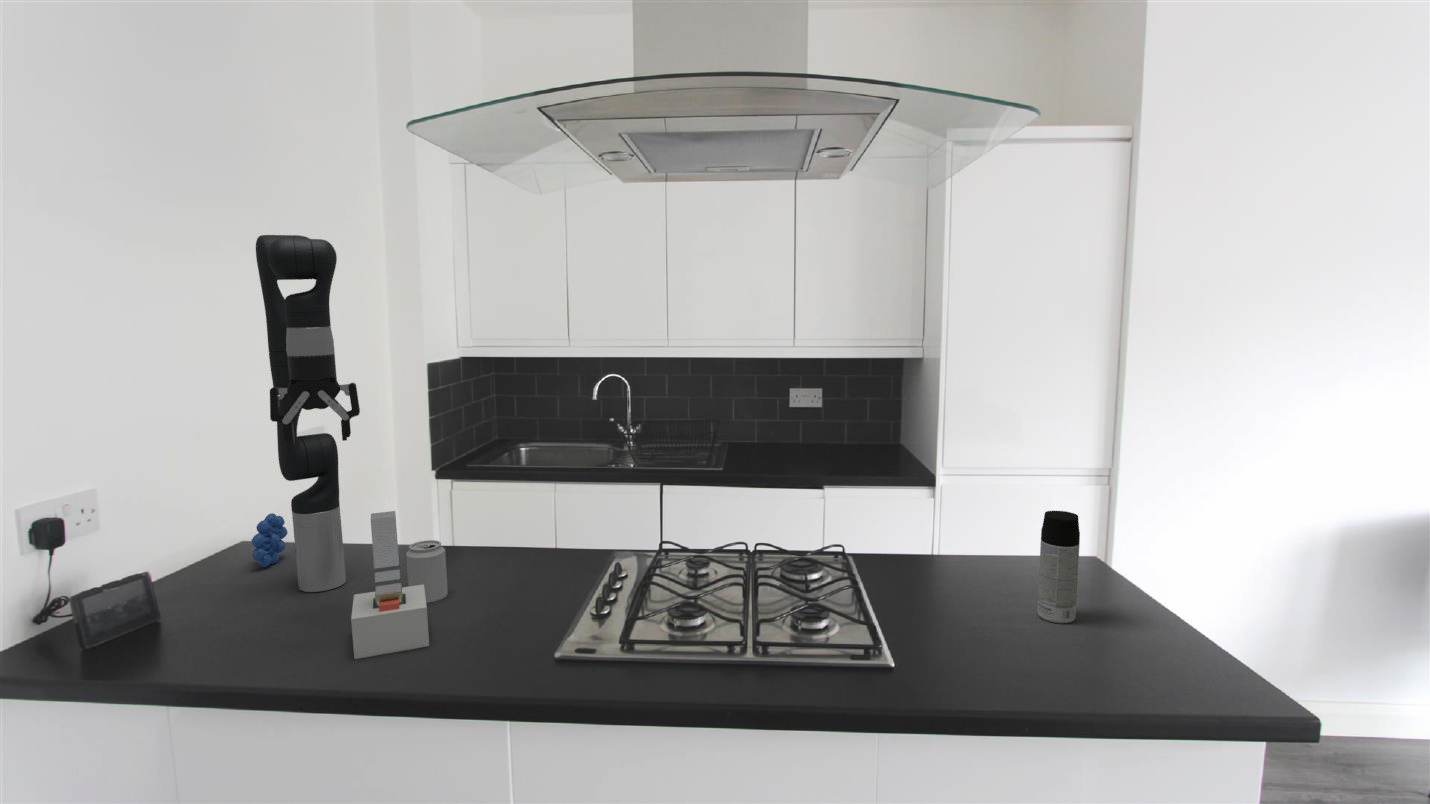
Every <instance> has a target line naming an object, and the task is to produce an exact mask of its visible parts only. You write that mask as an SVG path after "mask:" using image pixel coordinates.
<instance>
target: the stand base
mask: <svg viewBox="0 0 1430 804" xmlns="http://www.w3.org/2000/svg"><path fill="white" fill-rule="evenodd" d="M402 596H403V597H402V604H399V600H392V601H386V602H379V607H378V608H377V601H375V591H369V592H363V593H357V594H353V599H352V600H353V602H352V608H351V610H352V611H351V617H350V621H351V622H350V623H351V633H352V647H353V658H354V660H356V659H357V660H358V659H362V658H363V659H364V658H368V657H374V656H380V655H385V654H386V655H387V654H391V653H397V652H403V651H409V650H415V649H420V648H425V647H426V648H427V647H430V639H429V638H430V636H429V622H428V608H427V603H426V598H425V590H424V585H417V586H410V587H408V586H404V587H403V586H402Z"/></svg>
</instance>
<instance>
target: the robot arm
mask: <svg viewBox="0 0 1430 804" xmlns="http://www.w3.org/2000/svg"><path fill="white" fill-rule="evenodd" d="M255 256H256V257H255V259H256V264H257V270H258V276H259V282H260V287H261V294H262V298H263V305H264V312H265V320H266V322H265V323H266V335H267V345H268V346H267V348H268V349H267V350H268V358H269V366H270V374H271V379H272V380H271V381H272V386H273V387H271V388H270V389H269V410H270V411H269V413H270V414H269V415H270V417H269V418H270V421H272V422H276V433H277V435H276V437H277V438H276V439H277V454H278V455H277V456H278V464H279V470H280V473H281V475H282V476H283V478H284V479H285V480H286V481H289V482H294V481H301V480H308V479H315V478H317V480H316V481H315V482H314V484H312V485H311V486H310V487H308V488H307V489H306V490H304V491H301V492H300V493H298V494H296V495H295V496H293V497H292V499H291V501H290V502H291V503H290V506H291V508H290V509H291V515H292V517H291V519H292V528H293V539H294V549H295V560H296V572H297V574H296V575H297V582H298V584H297V585H298V590H300V591H302V592H305V593H317V592H324V591H325V592H326V591H330V590H333V589H336V588H339V587H341V586H343V585H344V584H345V583H346V582H347V581H346V579H347V578H346V576H347V575H346V567H345V566H346V565H345V552H344V541H343V529H342V528H343V527H342V519H341V517H342V516H341V505H340V482H339V481H340V479H339V451H338V445H337V442H336V440H335V437H334V436H333V435H332V434H331V433H325V432H324V433H313V434H306V435H305V434H304V435H299V436H298V424H299V419H300V415H301V412H302V411H303V410H305V411H310V410H313V409H317V410H326V409H327V408H330V409H331V410H332V411H333V412H334V413H336V414H337V415H338V417H340V418H341V419H340V426H341V439H342V441H343V442H345V441H348V438H350V437H351V434H352V432H351V419H352V418H354V417H358V416H359V415H360V412H361V409H360V403H359V395H358V387H357V383H355V382H350V383H346V384H340V383H339V382H338V377H337V367H336V355H335V354H336V353H335V341H334V336H333V331H332V323H331V314H330V313H331V312H330V311H331V310H330V295H331V289H332V284H333V279H334V274H335V271H336V268H337V267H336V266H337V259H338V257H337V252H336V250H335V248H334V246H333V245H332V244H331V242H329V240H326V239H320V238H319V239H318V238H310V237H307V236H306V235H305V236H304V235H299V234H298V235H297V234H294V235H291V234H287V235H286V234H263V235H262V234H261V235H259V236H258V237H257V238H256V241H255ZM288 280H290V281H291V280H292V281H297V280H299V281H300V280H303V281H304V280H315V284H314V286H313V287H312V288H311V289H309V290H306V291H302V292H297V293H292V294H289V295H287V296H285V297H284V296H283V293H282V291H281V290H280V287H279V284H278V281H288ZM341 391H342V392H343V393H344V395H345V396H347V397H349V400H350V407H351V409H350V410H346V409H345V408H344V407H343V406H342V404H341V403H340V402H339V401H338V400H337V399H336V398H337V397H338V395H339V393H340V392H341Z"/></svg>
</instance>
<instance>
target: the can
mask: <svg viewBox="0 0 1430 804" xmlns="http://www.w3.org/2000/svg"><path fill="white" fill-rule="evenodd" d="M405 556H406V570H407V572H406V573H407V574H406V575H407V584H408V585H407V587H410V586H417V585H424V590H425V598H426V604H428V603H433V602H438V601H439V600H442V599H444V598H446V597H448V592H449V591H448V589H449V588H448V575H447V560H446V559H447V558H446V548H444V547H443V546H442V542H441V541H440V540H435V539H434V540H433V539H428V540H422V541H421V540H419V541H416V542H414V543H411V544H410V545H409V546H408V551H407V552H406V554H405Z"/></svg>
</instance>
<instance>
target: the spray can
mask: <svg viewBox="0 0 1430 804" xmlns="http://www.w3.org/2000/svg"><path fill="white" fill-rule="evenodd" d="M1042 521H1043V522H1042V527H1041V529H1040V531H1041V533H1040V547H1039V548H1040V550H1039V551H1040V552H1039V571H1038V572H1039V573H1038V587H1037V588H1038V590H1037V593H1038V594H1037V615H1038V617H1039V618H1040V619H1042V620H1044V621H1046V622H1049V623H1053V624H1070V623H1073V622H1074V621H1075V619H1076V617H1077V615H1076V614H1077V613H1076V612H1077V597H1078V582H1079V581H1078V579H1079V578H1078V577H1079V562H1080V561H1079V560H1080V558H1079V557H1080V542H1081V541H1080V538H1081V537H1080V536H1081V532H1080V526H1079V525H1080V523H1079V515H1078V514H1076V513H1075V512H1070V511H1066V510H1065V511H1064V510H1047V511H1045V512H1044V516H1043V520H1042Z"/></svg>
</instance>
